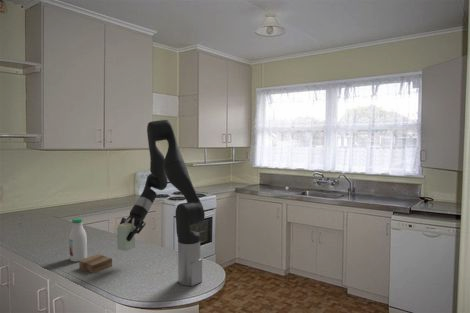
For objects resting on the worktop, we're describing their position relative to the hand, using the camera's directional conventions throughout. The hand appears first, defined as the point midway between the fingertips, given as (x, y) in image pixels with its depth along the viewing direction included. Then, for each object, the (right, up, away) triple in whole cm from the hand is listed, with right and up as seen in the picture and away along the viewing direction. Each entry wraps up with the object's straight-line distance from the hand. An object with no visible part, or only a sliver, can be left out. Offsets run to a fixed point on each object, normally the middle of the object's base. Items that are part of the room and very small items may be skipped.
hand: (123, 239), depth 161 cm
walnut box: (-13, -13, +1) cm, 18 cm away
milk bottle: (-25, -12, +11) cm, 30 cm away
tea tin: (+1, -5, +2) cm, 5 cm away
